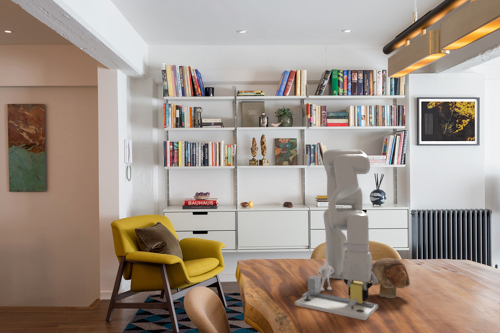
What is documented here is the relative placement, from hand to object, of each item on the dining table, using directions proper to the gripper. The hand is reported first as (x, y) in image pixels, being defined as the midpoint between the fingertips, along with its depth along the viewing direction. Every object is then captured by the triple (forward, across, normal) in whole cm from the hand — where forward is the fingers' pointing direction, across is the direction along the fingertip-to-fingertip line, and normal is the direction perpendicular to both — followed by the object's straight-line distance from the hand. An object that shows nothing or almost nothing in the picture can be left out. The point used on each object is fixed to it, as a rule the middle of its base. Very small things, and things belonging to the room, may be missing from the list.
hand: (358, 298), depth 138 cm
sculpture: (+3, +6, +18) cm, 19 cm away
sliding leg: (+2, 0, -3) cm, 4 cm away
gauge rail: (+2, -7, -3) cm, 8 cm away
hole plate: (+3, -7, -3) cm, 8 cm away
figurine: (+3, -18, +13) cm, 23 cm away
